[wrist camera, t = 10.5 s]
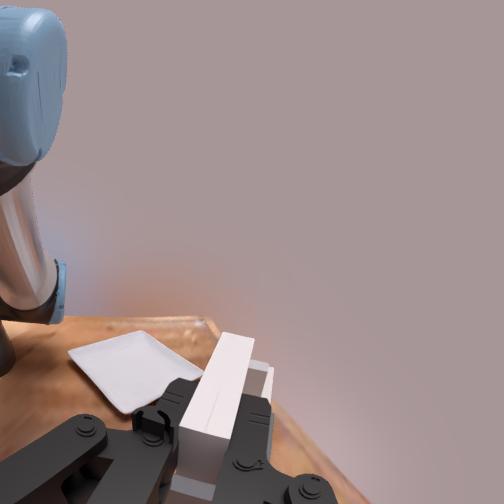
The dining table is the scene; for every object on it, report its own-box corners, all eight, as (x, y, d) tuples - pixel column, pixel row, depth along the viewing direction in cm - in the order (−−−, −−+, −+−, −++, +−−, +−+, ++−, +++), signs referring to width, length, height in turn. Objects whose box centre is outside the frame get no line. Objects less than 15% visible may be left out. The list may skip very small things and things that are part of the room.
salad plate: (205, 383, 59) (207, 370, 59) (125, 427, 41) (124, 413, 41) (141, 340, 70) (141, 328, 69) (66, 363, 52) (65, 350, 51)
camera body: (194, 425, 46) (199, 386, 44) (262, 441, 45) (275, 403, 43) (156, 515, 26) (154, 483, 24) (248, 537, 25) (264, 510, 24)
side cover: (217, 359, 52) (226, 310, 50) (272, 372, 52) (286, 323, 50) (193, 416, 37) (201, 358, 35) (265, 433, 36) (284, 377, 34)
